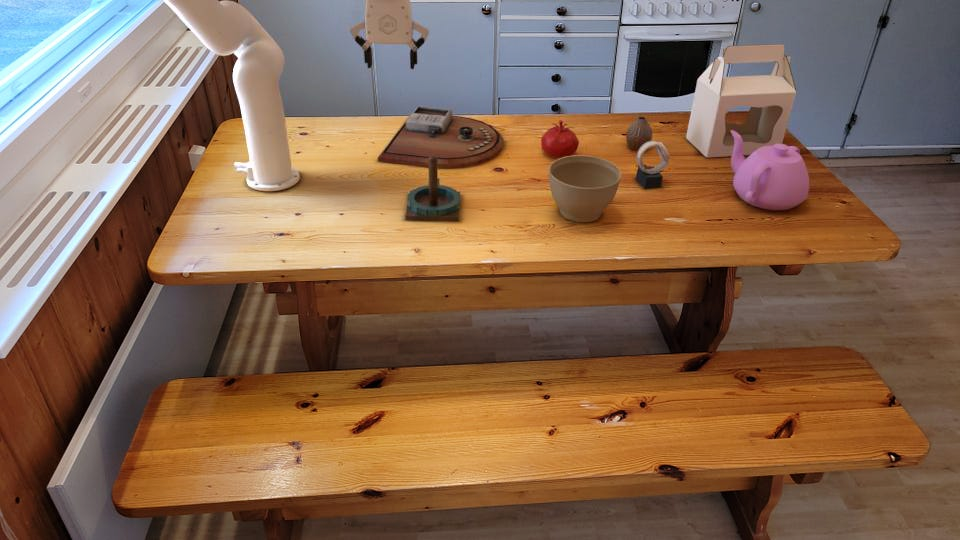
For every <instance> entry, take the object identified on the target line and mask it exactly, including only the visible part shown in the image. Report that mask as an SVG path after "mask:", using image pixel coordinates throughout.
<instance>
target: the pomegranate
mask: <svg viewBox="0 0 960 540" xmlns="http://www.w3.org/2000/svg"><path fill="white" fill-rule="evenodd" d="M558 123H559V125H558V124H557V123H551V124H552V125H553V127H550V128H548V129H546V130H547V131H546V132H544V133H543V135H542V136H541V139H540V141H541V149H542V152H543V153H544V154H546V155H548V156H550V157H553V158H556V159H559V158H562V157H566V156H573V155H574V154H575V153H576V152H577V151H578V148H579V145H580V141H579V138H578V137H577V135H576V133H575V132H574V131H573V130H571V128H572V129H575V127H574V126H568V124H567V123H564V121H563V120H561V119H560V120H559V121H558ZM565 126H566V127H565ZM567 126H568V127H567Z"/></svg>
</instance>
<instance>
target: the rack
mask: <svg viewBox="0 0 960 540" xmlns="http://www.w3.org/2000/svg"><path fill="white" fill-rule="evenodd" d="M428 162H429V167H428V185H429V194H427V195H423V196H420V197H418V198H417V199H416V200H415V201H416V202H417V203H419V204H421V205H424V206H428V207H439V206H444V205H446V204H449V203H451V202H452V201H453V200H452V199H451V198H450V197H448V196H446V195H441V194H438V178H439V177H438V176H439V175H438V169H439V168H438V165H437V157H436V156H435V155H431V156H430V157H429V159H428ZM411 191H412V190H409V193H410V192H411ZM457 192H458V193H459V194H460V195H461V191H457ZM409 193H408V194H409ZM404 217H405V219H404V220H405V221H433V222H460V207H459V208H458V209H457V210H456V211H455V212H452V213H450V214H447V215H442V216H438V215H437V216H428V215H427V216H424V215H420V214H418V213H415V212H413V211H412V210H410V208H409V207H408V205H406V210H405V214H404Z"/></svg>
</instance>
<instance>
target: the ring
mask: <svg viewBox="0 0 960 540" xmlns="http://www.w3.org/2000/svg"><path fill="white" fill-rule="evenodd" d="M410 191H411V192H410ZM410 191H409V192H410V193H408V194H407V197H406V204H407V205H408V207H409V208H410V210H412V211H413V212H415V213H418V214H420V215H424V216H427V215H428V216H437V215H438V216H442V215H447V214H450V213H452V212H455V211H456V210H457V209H458V208H459V209H460V207H461V201H462V200H461V197H462V195H461V193H460V194H459V193H458V192H459V191H458V190H456V189H454V188H453V187H450V186H446V185H442V184H441V183H440V177H438V194H441V195H446V196H448V197H450V198H451V199H452V200H453V201H452V202H451V203H449V204H446V205H444V206H439V207H428V206H424V205H421V204H419V203H417V202H416V201H415V200H416V199H417V198H418V197H420V196H423V195H427V194H429V184H426V185H421V186H418V187H416V188H413V189H411V190H410ZM407 205H406V206H407Z"/></svg>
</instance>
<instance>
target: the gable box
mask: <svg viewBox="0 0 960 540" xmlns="http://www.w3.org/2000/svg"><path fill="white" fill-rule="evenodd" d="M791 57H792V56H791V55H786V54H785V45H784V44H783V43H763V44H740V45H739V44H737V45H735V44H734V45H728V46H726V47H725V48H722V56H718V57H716V58H715V57H714V59H713V61H712V63H711V64H710V65H709V66H708V67H707V68H706V69H705V70H704V71H703V72H702V74H701V75H699V77H698V78H697V80H696V86H695V90H694V95H693V100H692V105H691V111H690V116H689V121H688V125H687V131H686V135H685V139H686V140H687V141H688V142H689V143H690V144H691V145H692V146H694V148H696V149H697V150H698V151H699V152H700V153H701V154H702V155H703V156H704V157H705V158H707V159H709V158H711V159H712V158H724V157H725V158H726V157H732V153H733V149H734V137H733V135H732V133H731V132H730V130H734V131H735V132H737V133H738V134H739V135H740V136H741V137H742V140H743V156H750V155H751V154H752V153H753V152H754V151H756V150H757V149H758V148H760V147H763V146H774V144H783V141H784V138H785V135H786V131H787V128H788V124H789V121H790V117H791V114H792V110H793V107H794V104H795V99H796V95H797V87H796V83H795V80H794V77H793V73H792V68H791V65H790V63H791ZM750 63H775V65H774V67H773V69H772V72H771V74H765V75H764V74H763V75H760V74H759V75H739V76H724V73H725V68H726V67H725V66H726V65H730V64H750ZM737 107H750V108H749V110H748V116H747V119H746V122H745V123H742V124H736V123H733V122H726V114H727V112H728V111H729V110H730V109H731V110H732V109H733V108H737Z"/></svg>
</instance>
